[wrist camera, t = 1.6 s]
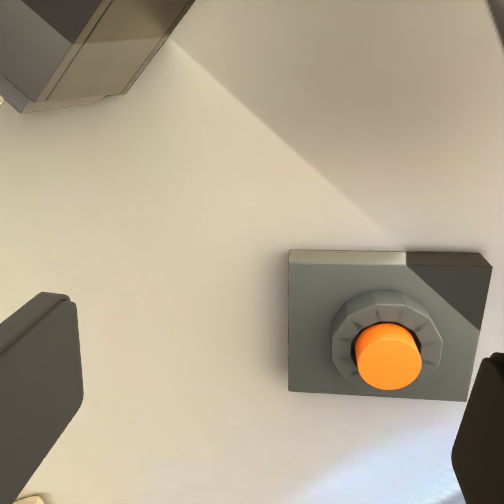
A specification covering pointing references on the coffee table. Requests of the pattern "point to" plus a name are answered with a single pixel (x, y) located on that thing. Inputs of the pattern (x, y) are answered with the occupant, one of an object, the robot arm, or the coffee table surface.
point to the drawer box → (82, 44)
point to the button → (387, 356)
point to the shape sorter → (30, 500)
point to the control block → (385, 317)
